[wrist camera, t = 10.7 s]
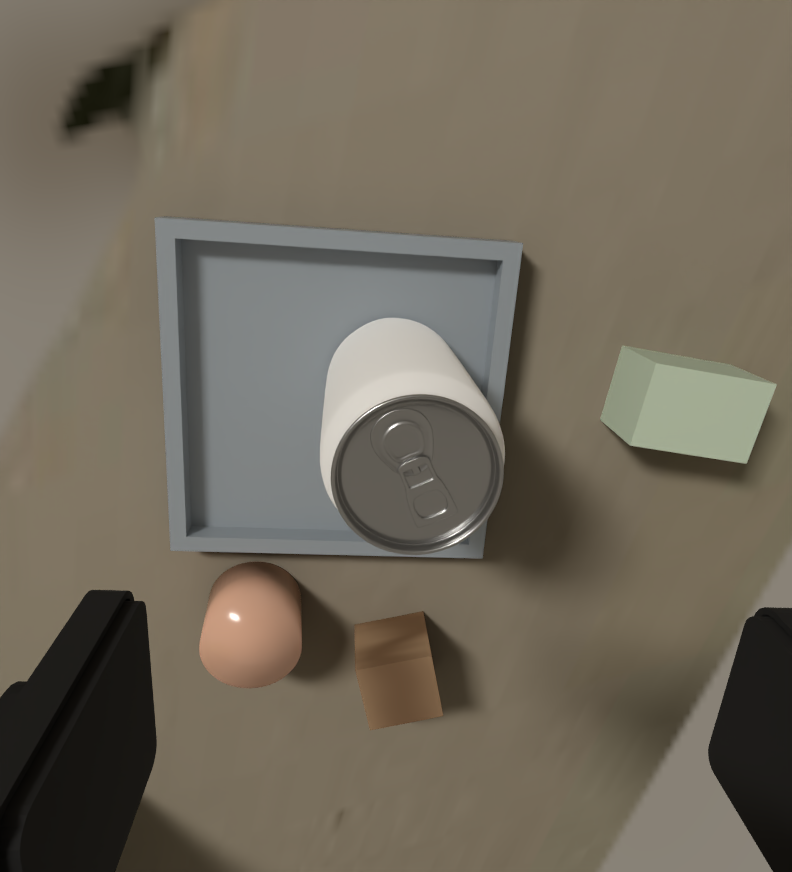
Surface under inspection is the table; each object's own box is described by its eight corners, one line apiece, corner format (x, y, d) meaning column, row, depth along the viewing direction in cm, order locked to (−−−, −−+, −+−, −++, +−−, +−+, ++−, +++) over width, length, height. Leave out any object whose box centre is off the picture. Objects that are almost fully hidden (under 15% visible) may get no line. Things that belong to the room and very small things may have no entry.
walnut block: (423, 610, 38) (431, 655, 34) (434, 666, 39) (443, 715, 36) (354, 623, 38) (355, 670, 34) (367, 679, 39) (370, 730, 36)
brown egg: (239, 546, 35) (233, 588, 32) (318, 587, 37) (321, 632, 33) (191, 614, 36) (180, 663, 33) (270, 651, 38) (267, 701, 34)
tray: (513, 240, 31) (523, 243, 30) (476, 541, 37) (482, 558, 35) (165, 216, 30) (154, 217, 28) (179, 533, 35) (170, 550, 33)
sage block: (729, 364, 34) (776, 384, 31) (704, 436, 36) (746, 463, 32) (621, 345, 34) (656, 363, 30) (599, 418, 35) (629, 445, 31)
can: (430, 294, 31) (477, 348, 20) (476, 414, 33) (543, 523, 22) (304, 347, 32) (282, 429, 20) (358, 462, 34) (364, 594, 23)
